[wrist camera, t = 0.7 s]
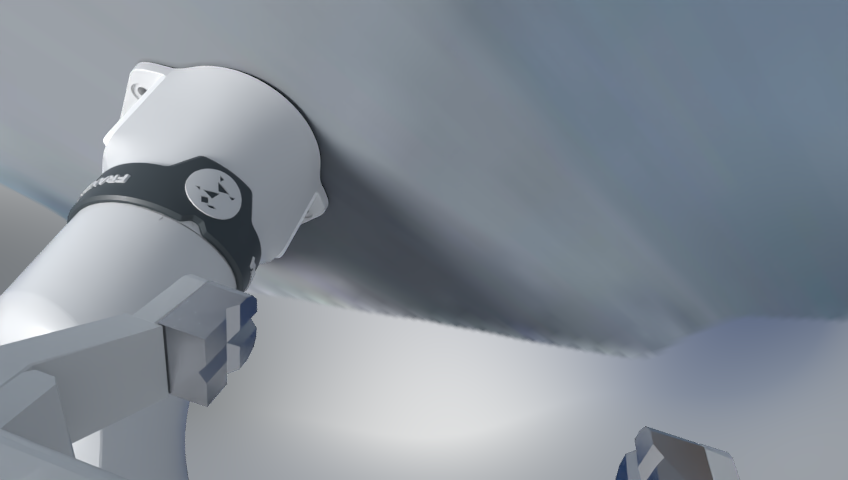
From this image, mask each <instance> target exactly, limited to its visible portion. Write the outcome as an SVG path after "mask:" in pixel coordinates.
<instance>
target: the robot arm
mask: <svg viewBox="0 0 848 480" xmlns="http://www.w3.org/2000/svg"><path fill="white" fill-rule="evenodd" d="M144 88H145V89H146V90H147V91H146V90H145V89H144ZM103 142H104V144H105V145H106V148H105V150H104V154H103V163H102V175H101V176H100V177H99V178H98V179H97V180H96V181H95V182H93V183H92V184H90V185H89V186H88V187H87V188H86V189H85V191H84V192H83V193H82V194H81V197H80V198H79V199H78V200H77V203H76V204H75V205H74V206H73V207H72V209H71V210H70V212H69V215H68V219H67V225H66V226H65V227H64V228H63V229H62V230H61V231H60V232H59V234H58V235H57V236H56V237H55V238H54V239H53V240H52V241H51V242H50V243H49V244H48V245H47V246H46V247H45V248H44V250H43V251H42V252H41V253H40V254H39V255H38V256H37V257H36V258H35V259H34V260H33V261H32V262H31V264H30V265H29V266H28V267H27V268H26V269H25V270H24V271H23V272H22V273H21V274H20V275H19V277H18V278H17V279H16V280H15V281H14V282H13V283H12V284H11V285H10V286H9V287H8V288H7V290H6V291H5V292H4V293H3V294H2V295H1V296H0V480H189V478H188V471H187V464H186V456H185V455H186V454H185V430H186V420H187V414H188V408H189V403H190V401H191V402H194V403H197V404H200V405H203V406H206V407H208V406H209V404H210V403H211V402H212V401H213V400H214V399H215V397H216V396H217V395H218V394H219V393H220V392H221V390H222V389H223V388H224V387H225V386H226V385H227V374H228V373H231V372H234V371H236V370H239V369H240V368H241V367H242V365H243V364H244V363H245V362H246V361H247V359H248V357H249V355H250V353H251V351H252V349H253V347H254V343H255V339H256V330H257V328H256V326H255V324H254V323H253V321H252V319H251V318H252V316H253V315H254V314H255V313H256V312H257V299H256V298H255V297H254V296H253V295H250V294H247V293H244V291H246V290H247V289H248V287H249V285H250V284H251V282H252V280H253V277H254V274H255V271H256V269H257V267H258V265H259V264H263V263H269V262H271V261H272V260H273V259H274V258H280V257H281V256H282V255H283V254H284V253H285V251H286V250H287V248H288V246H289V244H290V242H291V241H292V239H293V237H294V235H295V234H296V232H297V230H298V228H299V226H300V225H301V224H303V223H305V222H308V221H310V220H312V219H314V218H316V217H319V216H321V215H322V214H323V213H324V212H325V210H326V209H327V207H328V198H327V195H326V193H325V190H324V188H323V186H322V184H321V181H320V166H321V161H320V152H319V148H318V144H317V141H316V139H315V136H314V134H313V132H312V130H311V128H310V127H309V125H308V123H307V122H306V120H305V119H304V118H303V116H302V115H301V114H300V113H299V111H298V110H297V109H296V108H295V107H294V106H293V105H292V104H291V103H290V102H289V101H288V100H287V99H286V98H285V97H284V96H282V95H281V94H280V93H279V92H277V91H276V90H274V89H273V88H272V87H270V86H268V85H267V84H265V83H264V82H262V81H260V80H258V79H256V78H254V77H252V76H250V75H247V74H245V73H242V72H239V71H236V70H233V69H228V68H224V67H217V66H197V67H190V68H182V69H174V68H170V67H167V66H163V65H159V64H155V63H150V62H141V63H138V64H137V65H136V66H135V68H134V69H133V70H132V71H131V73H130V76H129V81H128V85H127V90H126V95H125V99H124V104H123V108H122V113H121V117H120V120H119V121H118V122H117V123H116V124H115V126H114V127H113V128H112V129H111V130H110V131H109V132H108V133H107V135H106V136H105V138H104V139H103ZM635 446H636V450H635V451H633V452H630V453H627V454H625V456H624V458H623V460H622V462H621V463H620V465H619V469H618V473H617V476H616V480H740V478H739V475H738V472H737V469H736V466H735V463H734V460H733V458H732V457H731V455H730V454H729V453H727V452H725V451H722V450H718V449H715V448H712V447H709V446H706V445H703V444H697V443H695V442H692V441H689V440H686V439H683V438H680V437H677V436H674V435H671V434H668V433H665V432H661V431H658V430H655V429H652V428H649V427H646V426H645V427H644V428H643V429H641V430H640V431H639V433H638V435H637V436H636V438H635Z"/></svg>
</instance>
